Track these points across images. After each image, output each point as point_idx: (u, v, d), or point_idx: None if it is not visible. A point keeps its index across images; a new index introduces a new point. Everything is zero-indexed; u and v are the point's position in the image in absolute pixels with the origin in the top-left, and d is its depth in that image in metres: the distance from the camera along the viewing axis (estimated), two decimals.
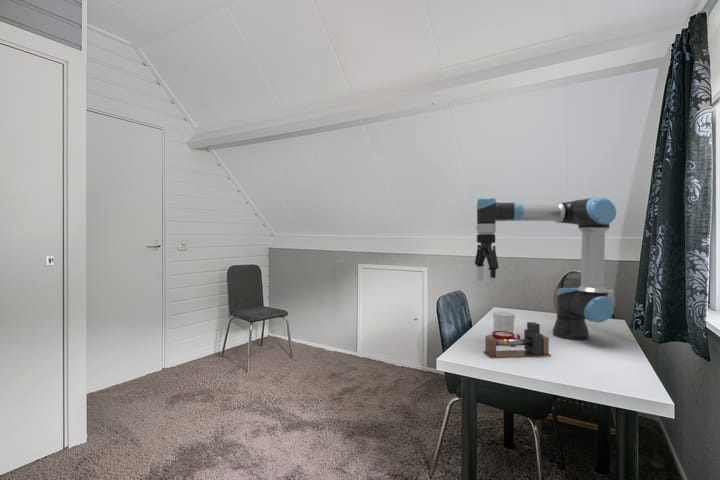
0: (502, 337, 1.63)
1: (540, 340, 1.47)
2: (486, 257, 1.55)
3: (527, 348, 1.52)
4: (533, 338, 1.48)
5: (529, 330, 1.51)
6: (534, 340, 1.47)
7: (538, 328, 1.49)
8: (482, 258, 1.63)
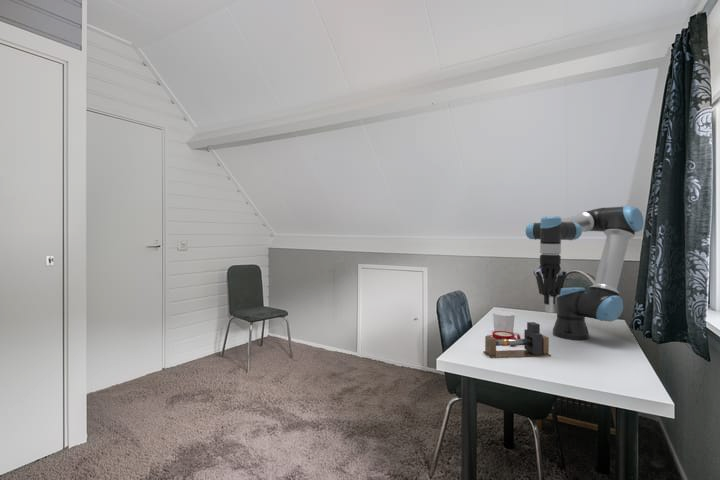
0: (502, 337, 1.63)
1: (540, 340, 1.47)
2: None
3: (527, 348, 1.52)
4: (533, 338, 1.48)
5: (529, 330, 1.51)
6: (534, 340, 1.47)
7: (538, 328, 1.49)
8: (551, 283, 1.51)
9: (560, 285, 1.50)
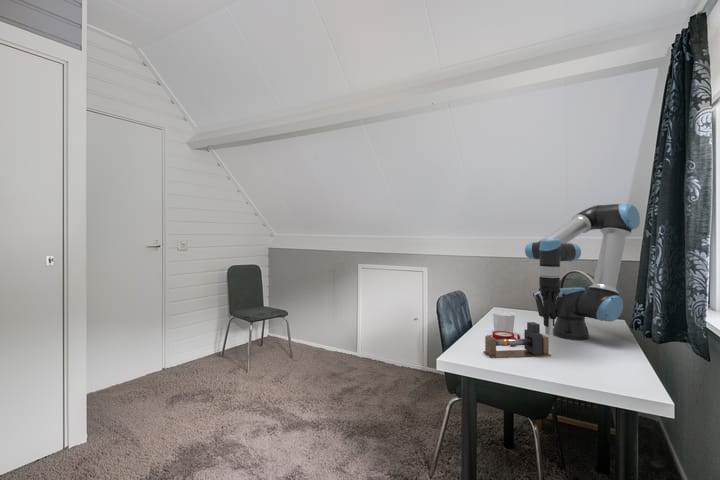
0: (502, 337, 1.63)
1: (540, 340, 1.47)
2: None
3: (527, 348, 1.52)
4: (533, 338, 1.48)
5: (529, 330, 1.51)
6: (534, 340, 1.47)
7: (538, 328, 1.49)
8: (551, 305, 1.51)
9: (560, 307, 1.50)
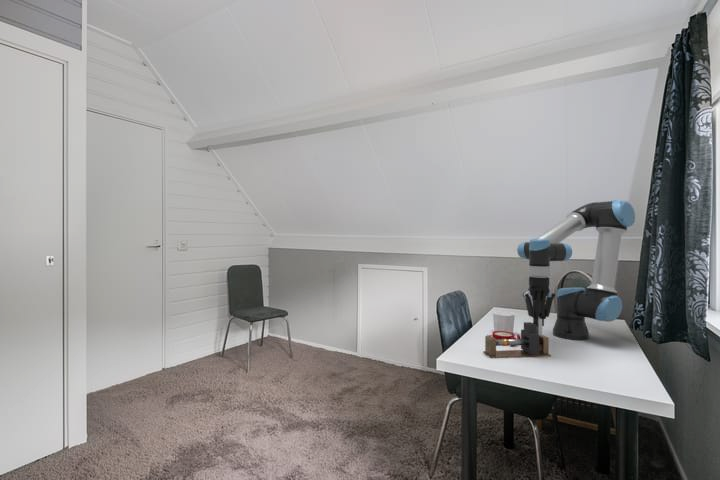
0: (502, 337, 1.63)
1: (536, 340, 1.47)
2: None
3: (524, 348, 1.52)
4: (529, 338, 1.48)
5: (526, 330, 1.51)
6: (530, 340, 1.47)
7: (535, 328, 1.49)
8: (540, 305, 1.50)
9: (549, 307, 1.50)
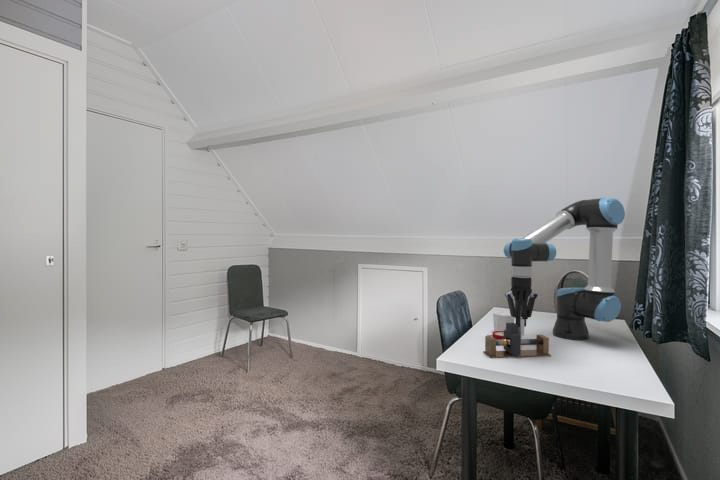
0: (502, 337, 1.63)
1: (518, 341, 1.46)
2: None
3: (506, 349, 1.51)
4: (511, 339, 1.47)
5: (508, 331, 1.50)
6: (512, 340, 1.46)
7: (517, 328, 1.48)
8: (522, 305, 1.50)
9: (531, 307, 1.49)
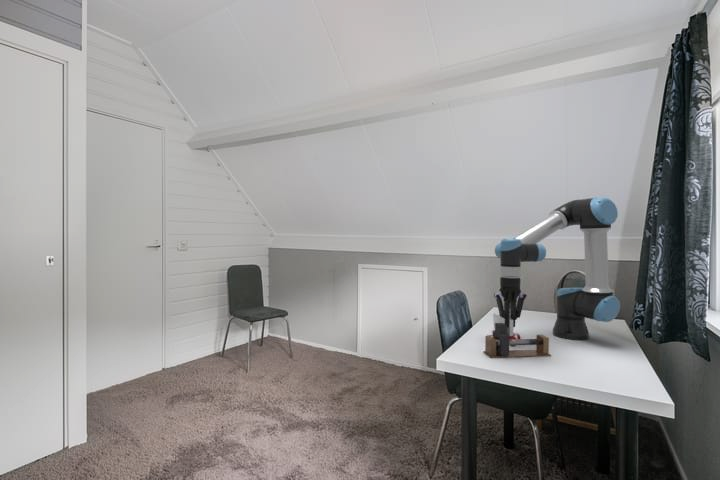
0: None
1: (507, 341, 1.45)
2: None
3: None
4: (500, 339, 1.47)
5: (497, 331, 1.49)
6: (501, 341, 1.46)
7: (506, 328, 1.47)
8: (511, 306, 1.49)
9: (520, 308, 1.49)
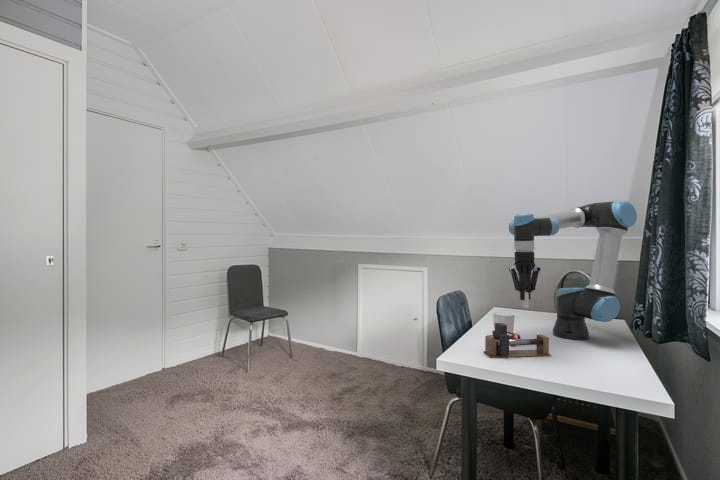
0: None
1: (507, 341, 1.45)
2: None
3: None
4: (500, 339, 1.47)
5: (497, 331, 1.49)
6: (501, 341, 1.46)
7: (506, 328, 1.47)
8: (526, 279, 1.53)
9: (535, 281, 1.53)
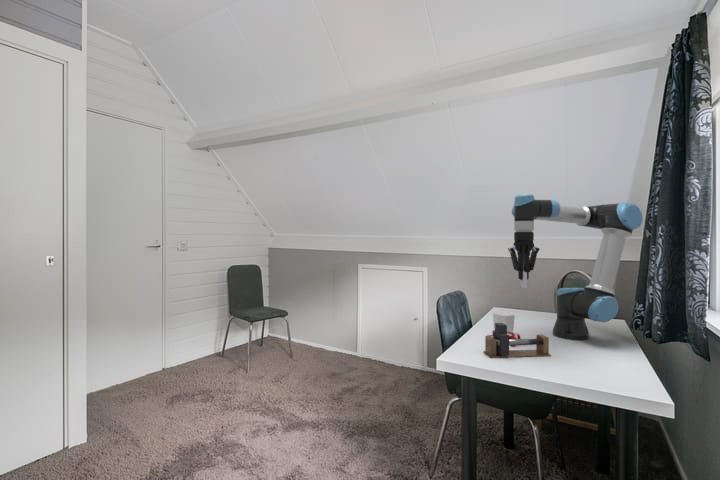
0: None
1: (507, 341, 1.45)
2: None
3: None
4: (500, 339, 1.47)
5: (497, 331, 1.49)
6: (501, 341, 1.46)
7: (506, 328, 1.47)
8: (525, 259, 1.56)
9: (533, 261, 1.55)
